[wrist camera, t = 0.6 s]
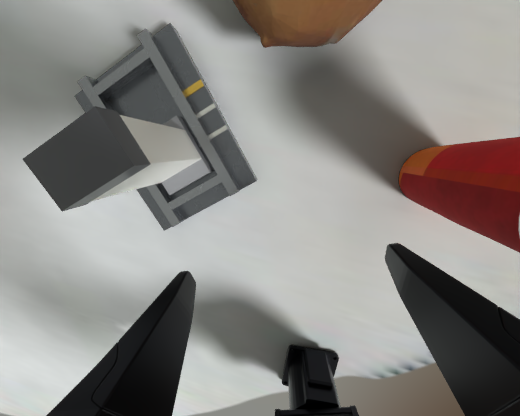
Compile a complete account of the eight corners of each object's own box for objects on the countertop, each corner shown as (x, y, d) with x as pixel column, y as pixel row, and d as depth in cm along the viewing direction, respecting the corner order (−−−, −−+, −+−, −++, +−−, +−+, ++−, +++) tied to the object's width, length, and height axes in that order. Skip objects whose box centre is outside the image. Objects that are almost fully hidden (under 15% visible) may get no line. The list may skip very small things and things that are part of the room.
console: (257, 179, 23) (255, 182, 21) (169, 227, 26) (158, 234, 23) (176, 30, 20) (163, 14, 18) (84, 98, 23) (63, 92, 20)
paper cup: (451, 217, 23) (704, 313, 9) (378, 206, 23) (520, 283, 10) (482, 140, 21) (863, 120, 7) (401, 129, 21) (621, 89, 8)
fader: (213, 170, 22) (150, 189, 11) (173, 193, 23) (78, 232, 12) (182, 116, 21) (76, 77, 10) (141, 143, 22) (3, 134, 11)
